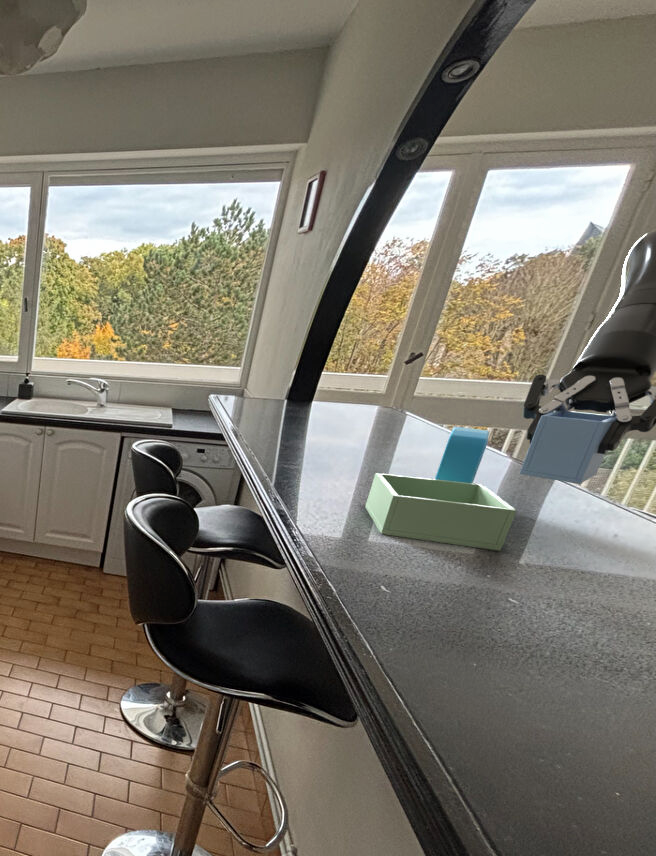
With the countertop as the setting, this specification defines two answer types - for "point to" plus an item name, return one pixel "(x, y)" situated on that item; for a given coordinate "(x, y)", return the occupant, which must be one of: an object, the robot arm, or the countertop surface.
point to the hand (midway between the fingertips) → (566, 444)
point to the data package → (462, 455)
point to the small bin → (567, 446)
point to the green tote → (439, 511)
